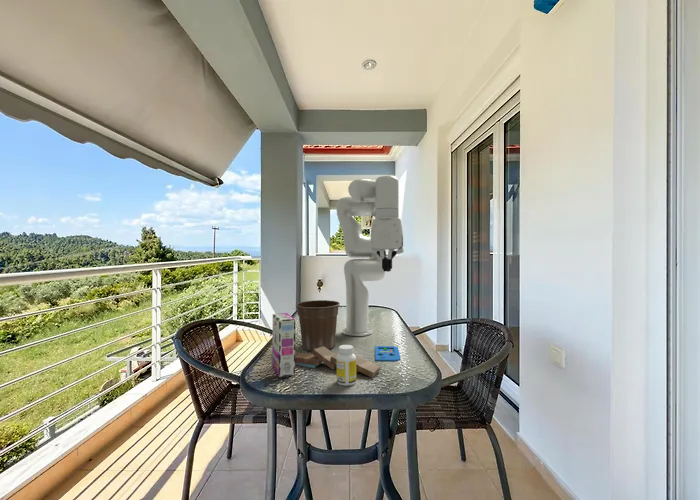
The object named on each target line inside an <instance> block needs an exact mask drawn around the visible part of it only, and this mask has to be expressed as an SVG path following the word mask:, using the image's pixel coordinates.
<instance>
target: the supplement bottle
mask: <svg viewBox="0 0 700 500" xmlns="http://www.w3.org/2000/svg"><path fill="white" fill-rule="evenodd" d="M338 353H340V354H338V355H337V368H336V383H337V384H338V385H340V386H345V387H347V386H353V385H355V384H356V383H357V374H356V356H357V355H356V354H354V346H353V345H351V344H342V345H339V346H338ZM355 355H356V356H355Z"/></svg>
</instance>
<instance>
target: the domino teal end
mask: <svg viewBox="0 0 700 500" xmlns="http://www.w3.org/2000/svg"><path fill="white" fill-rule="evenodd" d="M321 364H323V362H321V363H320V364H319V365H321ZM319 365H311V364H303V363H295V366H300V367H306V368H313V369H315V368H316V367H318V366H319Z"/></svg>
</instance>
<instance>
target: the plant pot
mask: <svg viewBox="0 0 700 500" xmlns="http://www.w3.org/2000/svg"><path fill="white" fill-rule="evenodd" d="M340 305H341V303H340V302H339V301H336V300H325V299H323V300H321V299H319V300H306V301H305V300H304V301H300V302H297V303H296V304H295V307H296V309H297V315H298V319H299V320H298V321H299V326H300V328H299V329H300V337H301V338H300V339H301V347H302V348H303V350H305V351H309V352H313V349H316V348H320V347H323V346H324V347H326V348H327V349H328V350H331V349H333V348H335V346H336V336H337V335H336V334H337V324H338V323H337V322H338V321H337V320H338V315H339V306H340Z"/></svg>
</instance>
